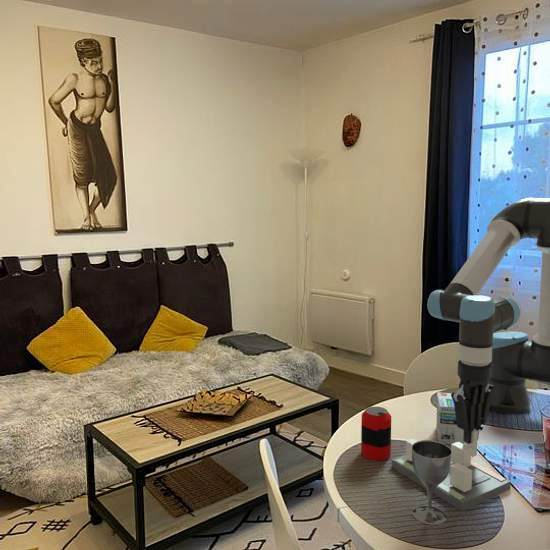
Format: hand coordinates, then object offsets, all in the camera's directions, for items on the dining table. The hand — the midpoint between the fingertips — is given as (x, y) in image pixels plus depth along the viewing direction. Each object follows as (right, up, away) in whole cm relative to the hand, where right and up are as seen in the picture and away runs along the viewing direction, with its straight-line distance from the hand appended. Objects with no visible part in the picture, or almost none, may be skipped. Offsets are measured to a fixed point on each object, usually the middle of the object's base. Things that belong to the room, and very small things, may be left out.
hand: (470, 453), depth 134 cm
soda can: (-21, -3, +9) cm, 23 cm away
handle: (-13, -2, +1) cm, 13 cm away
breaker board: (-6, -5, -3) cm, 8 cm away
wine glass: (-15, -8, -17) cm, 24 cm away
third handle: (-6, -4, -11) cm, 13 cm away
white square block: (-3, -2, -1) cm, 4 cm away
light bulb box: (+1, -1, +18) cm, 18 cm away
